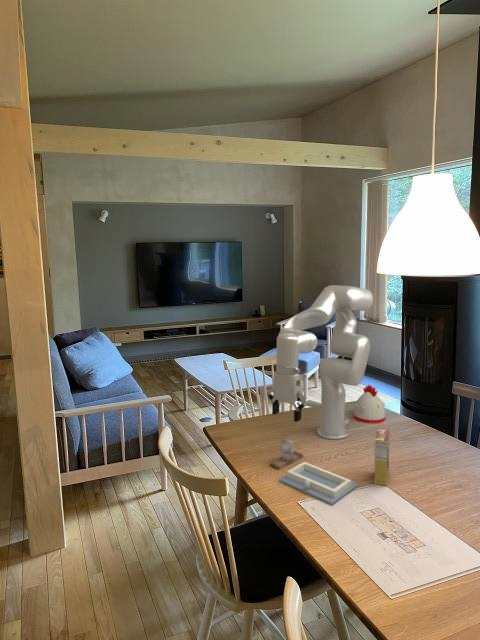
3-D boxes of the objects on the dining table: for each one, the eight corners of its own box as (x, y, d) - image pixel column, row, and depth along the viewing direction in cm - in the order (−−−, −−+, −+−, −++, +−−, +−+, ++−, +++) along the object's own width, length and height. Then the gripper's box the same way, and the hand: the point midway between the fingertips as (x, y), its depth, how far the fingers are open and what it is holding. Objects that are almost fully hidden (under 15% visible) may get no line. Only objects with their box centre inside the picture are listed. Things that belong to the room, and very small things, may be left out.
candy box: (375, 471, 155) (377, 428, 153) (389, 473, 154) (390, 430, 151) (373, 484, 147) (374, 439, 144) (387, 486, 145) (389, 441, 143)
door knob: (293, 454, 169) (294, 435, 167) (303, 458, 166) (303, 438, 164) (269, 466, 160) (269, 446, 159) (279, 470, 157) (279, 450, 155)
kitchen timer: (366, 425, 194) (368, 391, 192) (346, 415, 207) (347, 383, 204) (392, 420, 200) (393, 387, 198) (370, 410, 212) (372, 379, 210)
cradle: (306, 465, 160) (306, 456, 159) (358, 486, 145) (358, 476, 145) (279, 481, 149) (279, 471, 149) (332, 505, 135) (332, 495, 134)
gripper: (314, 372, 154) (313, 420, 156) (275, 363, 166) (274, 408, 168) (300, 376, 148) (299, 426, 151) (261, 367, 160) (260, 413, 163)
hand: (286, 417), depth 160 cm, fingers open, 9 cm apart
